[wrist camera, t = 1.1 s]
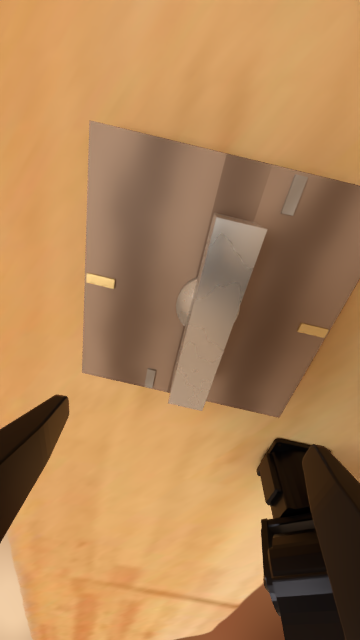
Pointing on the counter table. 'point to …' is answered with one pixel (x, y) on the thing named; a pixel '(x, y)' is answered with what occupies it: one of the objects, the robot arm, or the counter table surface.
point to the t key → (213, 306)
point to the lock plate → (186, 256)
